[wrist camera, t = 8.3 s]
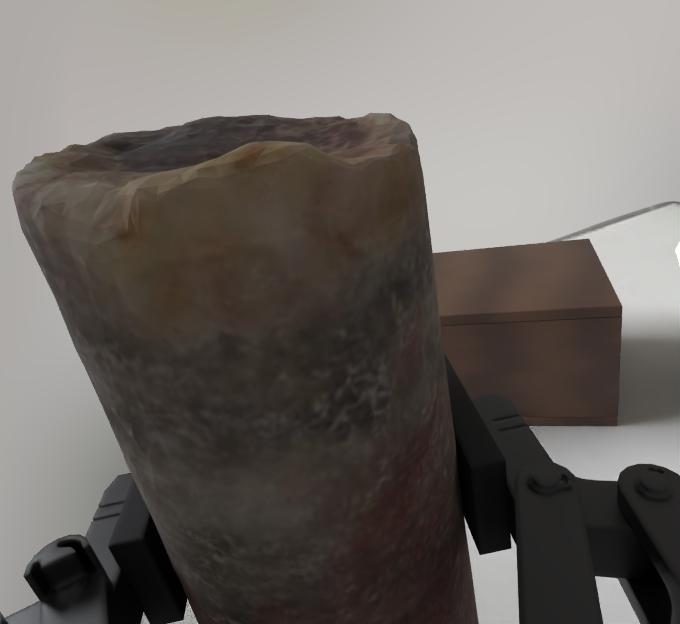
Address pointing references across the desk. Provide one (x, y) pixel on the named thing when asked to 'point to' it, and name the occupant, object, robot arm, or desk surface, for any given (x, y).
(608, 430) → the desk surface
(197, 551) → the candle
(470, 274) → the dresser
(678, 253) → the ball
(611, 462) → the desk surface
